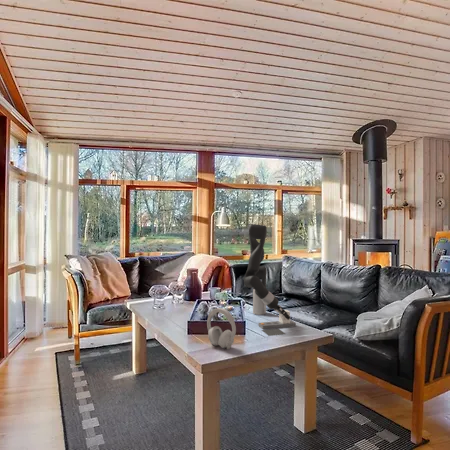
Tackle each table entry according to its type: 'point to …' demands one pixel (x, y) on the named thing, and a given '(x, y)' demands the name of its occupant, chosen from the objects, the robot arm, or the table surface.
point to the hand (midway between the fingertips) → (286, 316)
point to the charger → (284, 318)
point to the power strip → (275, 324)
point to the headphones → (216, 333)
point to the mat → (273, 332)
